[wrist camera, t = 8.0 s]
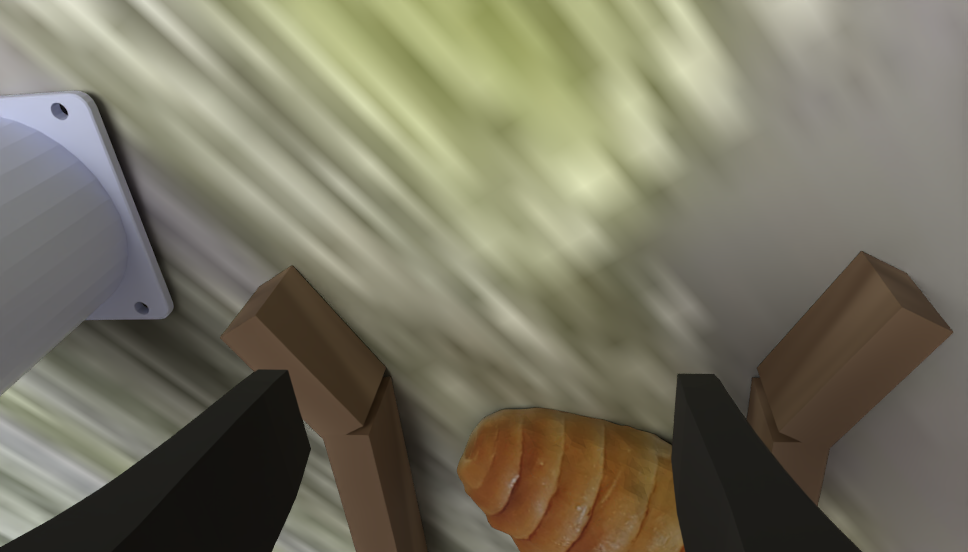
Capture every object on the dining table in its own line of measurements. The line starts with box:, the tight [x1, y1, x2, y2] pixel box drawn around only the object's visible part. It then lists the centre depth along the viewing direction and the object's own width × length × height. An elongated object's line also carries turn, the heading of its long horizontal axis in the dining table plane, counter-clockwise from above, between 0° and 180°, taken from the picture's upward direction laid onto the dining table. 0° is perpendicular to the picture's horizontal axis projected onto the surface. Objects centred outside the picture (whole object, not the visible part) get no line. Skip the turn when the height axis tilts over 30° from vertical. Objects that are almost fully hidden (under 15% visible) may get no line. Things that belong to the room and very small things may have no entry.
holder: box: [220, 251, 953, 552], centre depth 25 cm, size 20×18×3 cm
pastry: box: [457, 407, 685, 552], centre depth 25 cm, size 9×7×4 cm
